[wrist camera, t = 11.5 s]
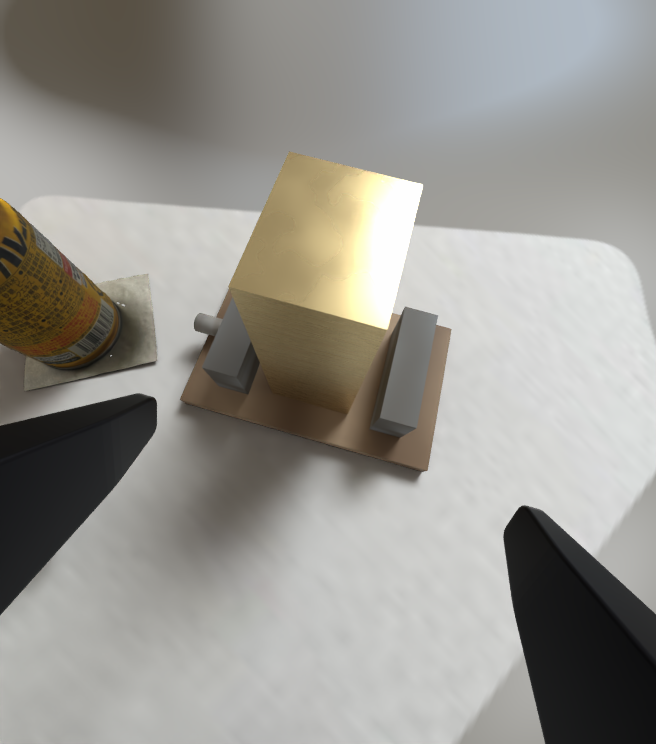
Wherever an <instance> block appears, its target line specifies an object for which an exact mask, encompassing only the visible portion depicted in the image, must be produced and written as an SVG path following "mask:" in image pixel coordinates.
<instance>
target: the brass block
mask: <svg viewBox="0 0 656 744" xmlns="http://www.w3.org/2000/svg"><path fill="white" fill-rule="evenodd" d="M422 187H423V185H422V184H418V183H414V182H409V181H406V180H402V179H398V178H394V177H389V176H386V175H382V174H377V173H373V172H369V171H365V170H361V169H357V168H353V167H349V166H345V165H341V164H337V163H333V162H329V161H325V160H321V159H317V158H313V157H309V156H304V155H301V154H297V153H293V152H289V153H288V155H287V158H286V160H285V162H284V164H283V166H282V169H281V171H280V173H279V176H278V178H277V180H276V182H275V184H274V187H273V189H272V191H271V193H270V195H269V198H268V200H267V202H266V204H265V207H264V209H263V211H262V213H261V215H260V217H259V220H258V222H257V224H256V226H255V229H254V231H253V233H252V235H251V237H250V240H249V242H248V244H247V246H246V249H245V251H244V253H243V255H242V257H241V260H240V262H239V264H238V266H237V269H236V271H235V273H234V275H233V277H232V280H231V282H230V284H229V286H228V287H229V289H230V292H231V294H232V297H233V299H234V301H235V304H236V306H237V309H238V311H239V313H240V316H241V318H242V321H243V323H244V325H245V328H246V330H247V333H248V335H249V338H250V340H251V342H252V345H253V347H254V350H255V352H256V354H257V357H258V359H259V362H260V364H261V367H262V369H263V371H264V374H265V376H266V379H267V381H268V383H269V386H270V388H271V391H272V393H273V394H277V395H280V396H284V397H287V398H291V399H294V400H298V401H301V402H305V403H308V404H312V405H315V406H319V407H322V408H326V409H329V410H333V411H336V412H340V413H343V414H347V415H348V413H349V411H350V408H351V406H352V404H353V402H354V400H355V398H356V396H357V393H358V391H359V389H360V387H361V385H362V383H363V381H364V379H365V376H366V374H367V372H368V370H369V368H370V366H371V364H372V361H373V359H374V357H375V355H376V353H377V351H378V349H379V347H380V344H381V342H382V340H383V338H384V336H385V334H386V332H387V329H388V325H389V321H390V317H391V313H392V309H393V305H394V301H395V297H396V293H397V289H398V285H399V280H400V276H401V272H402V268H403V264H404V260H405V256H406V252H407V248H408V244H409V240H410V236H411V232H412V228H413V224H414V220H415V216H416V211H417V207H418V203H419V199H420V195H421V191H422Z"/></svg>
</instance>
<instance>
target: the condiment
mask: <svg viewBox="0 0 656 744" xmlns="http://www.w3.org/2000/svg"><path fill="white" fill-rule="evenodd" d="M117 302H119V303H120V304H117ZM121 304H125V307H124V306H122V305H121ZM0 344H2V345H4V346H6V347H8V348H10V349H12V350H15V351H17V352H19V353H21V354H23V355H25V356H26V362H25V369H24V391H27V390H32V389H37V388H41V387H46V386H51V385H56V384H59V383H64V382H70V381H74V380H78V379H83V378H87V377H90V376H95V375H98V374H101V373H105V372H111V371H116V370H120V369H125V368H129V367H133V366H136V365H140V364H144V363H149V362H153V361H157V352H156V350H157V347H156V337H155V326H154V318H153V307H152V302H151V292H150V286H149V278H148V274H144V275H137V276H133V277H129V278H120V279H117V280H113V281H106V282H102V283H97V284H94V283H93V282H92V281H91V280H90V279H89V278H88V277H87V276H86V275H85V274H84V273H82V271H81V270H79V269H78V268H77V267H76V266H75V265H74V264H73V263H72V262H71V261H70V260H68V259H67V258H66V257H65V256H64V255H63V254H62V253H61V252H60V251H59V250H58V249H57V248H56V247H55V246H54V245H53V244H52V243H51V242H50V241H49V240H48V239H47V238H46V237H44V236H43V234H41V233H40V232H39V231H38V230H37V229H36V228H35V227H34V226H33V225H32V224H30V223H29V222H28V221H27V220H26V219H25V218H24V217H23V216H22V215H21V214H20V213H19V212H18V211H16V210H15V209H14V208H13V207H11V206H10V205H9V204H8V203H7V202H6V201H4V200H3V199H1V198H0ZM110 355H112V356H111V357H110Z"/></svg>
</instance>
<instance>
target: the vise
mask: <svg viewBox="0 0 656 744" xmlns="http://www.w3.org/2000/svg"><path fill="white" fill-rule="evenodd" d="M437 318H438V315H434V314H431V313H427V312H423V311H419V310H416V309H412V308H408V307H405V308H404V310H403V312H402V314H401V315H397V314H393V313H391V317H390V321H389V325H388V329H387V332H386V334H385V336H384V338H383V340H382V342H381V344H380V347H379V349H378V351H377V353H376V355H375V357H374V359H373V361H372V364H371V366H370V368H369V370H368V372H367V374H366V376H365V379H364V381H363V383H362V385H361V387H360V389H359V391H358V393H357V396H356V398H355V400H354V402H353V404H352V406H351V408H350V411H349V413H348V415H347V414H343V413H340V412H336V411H333V410H329V409H326V408H322V407H319V406H315V405H312V404H308V403H305V402H301V401H298V400H294V399H291V398H287V397H284V396H280V395H277V394H273V393H272V391H271V388H270V386H269V383H268V381H267V379H266V376H265V374H264V371H263V369H262V367H261V364H260V362H259V359H258V357H257V354H256V352H255V350H254V347H253V345H252V342H251V340H250V338H249V335H248V333H247V330H246V328H245V325H244V323H243V321H242V318H241V316H240V313H239V311H238V309H237V306H236V304H235V301H234V299H233V297H232V294H231V292H230V289H229V290H228V292H227V295H226V297H225V299H224V301H223V304H222V306H221V308H220V310H219V313H218V315H217V317H213V316H209V315H205V314H202V313H199V314H198V315H197V316H196V318H195V321H194V329H195V331H198V332H201V333H205V334H209V335H208V337H207V340H206V342H205V344H204V346H203V349H202V351H201V353H200V355H199V358H198V360H197V362H196V364H195V367H194V369H193V371H192V373H191V376H190V378H189V380H188V382H187V385H186V387H185V389H184V391H183V394H182V396H181V398H180V400H181V401H183V402H184V403H186V404H190V405H193V406H197V407H200V408H203V409H207V410H210V411H214V412H217V413H221V414H224V415H228V416H231V417H235V418H238V419H242V420H245V421H248V422H252V423H255V424H259V425H262V426H266V427H269V428H273V429H276V430H280V431H283V432H287V433H290V434H294V435H297V436H300V437H304V438H307V439H311V440H314V441H318V442H321V443H325V444H328V445H332V446H335V447H339V448H342V449H345V450H349V451H352V452H356V453H359V454H363V455H366V456H370V457H373V458H377V459H380V460H384V461H387V462H390V463H394V464H397V465H401V466H404V467H408V468H411V469H415V470H418V471H422V472H424V471H428V465H429V459H430V453H431V447H432V441H433V435H434V429H435V423H436V417H437V412H438V406H439V400H440V394H441V388H442V382H443V376H444V370H445V364H446V358H447V352H448V347H449V341H450V335H451V329H450V328H446V327H442V326H438V325H436V323H437Z"/></svg>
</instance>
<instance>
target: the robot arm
mask: <svg viewBox="0 0 656 744" xmlns="http://www.w3.org/2000/svg"><path fill="white" fill-rule="evenodd" d="M156 427H157V402H156V399H155V398H154V397H151V396H147V395H144V394H140V393H137V394H133V395H128V396H124V397H120V398H116V399H112V400H107V401H103V402H99V403H95V404H90V405H86V406H82V407H78V408H74V409H69V410H65V411H61V412H57V413H52V414H48V415H44V416H40V417H36V418H31V419H27V420H23V421H19V422H14V423H10V424H6V425H2V426H0V615H1V614H2V613H3V612H4V610H5V609H6V608H7V607H8V606H9V605H10V604H11V603H12V602H13V600H14V599H15V598H16V597H17V596H18V595H19V594H20V593H21V591H22V590H23V589H24V588H25V587H26V586H27V585H28V584H29V583H30V581H31V580H32V579H33V578H34V577H35V576H36V575H37V574H38V572H39V571H40V570H41V569H42V568H43V567H44V566H45V565H46V563H47V562H48V561H49V560H50V559H51V558H52V557H53V556H54V555H55V553H56V552H57V551H58V550H59V549H60V548H61V547H62V546H63V544H64V543H65V542H66V541H67V540H68V539H69V538H70V537H71V536H72V534H73V533H74V532H75V531H76V530H77V529H78V528H79V527H80V525H81V524H82V523H83V522H84V521H85V520H86V519H87V518H88V517H89V515H90V514H91V513H92V512H93V511H94V510H95V509H96V508H97V506H98V505H99V504H100V503H101V502H102V501H103V500H104V499H105V498H106V496H107V495H108V494H109V493H110V492H111V491H112V490H113V488H114V487H115V486H116V485H117V483H118V482H119V481H120V480H121V478H122V477H123V476H124V474H125V473H126V472H127V470H128V469H129V467H130V466H131V465H132V463H133V462H134V461H135V459H136V458H137V456H138V455H139V454H140V452H141V451H142V450H143V448H144V447H145V445H146V444H147V443H148V441H149V440H150V439H151V437H152V436H153V434H154V432H155V430H156ZM503 538H504V546H505V554H506V561H507V568H508V575H509V583H510V590H511V597H512V603H513V608H514V613H515V618H516V622H517V627H518V631H519V635H520V639H521V643H522V648H523V652H524V656H525V660H526V664H527V668H528V673H529V677H530V681H531V685H532V690H533V694H534V698H535V702H536V706H537V711H538V715H539V719H540V723H541V727H542V732H543V736H544V740H545V744H656V614H655V613H654V612H653V611H652V610H650V609H649V608H648V607H647V606H646V605H645V604H644V603H643V602H642V601H641V600H640V599H639V598H637V597H636V596H635V595H634V594H633V593H632V592H631V591H630V590H629V589H627V588H626V587H625V586H624V585H623V584H622V583H621V582H620V581H619V580H618V579H617V578H616V577H614V576H613V575H612V574H611V573H610V572H609V571H608V570H607V569H606V568H605V567H604V566H602V565H601V564H600V563H599V562H598V561H597V560H596V559H595V558H594V557H593V556H592V555H590V554H589V553H588V552H587V551H586V550H585V549H584V548H583V547H582V546H581V545H579V544H578V543H577V542H576V541H575V540H574V539H573V538H572V537H571V536H570V535H569V534H567V533H566V532H565V531H564V530H563V529H562V528H561V527H560V526H559V525H558V524H557V523H555V522H554V521H553V520H552V519H551V518H550V517H549V516H548V515H547V514H546V513H545V512H543V511H542V510H540V509H536V508H533V507H529V506H526V505H524V506H521V507H519V508H518V510H517V511H516V513H515V514H514V516H513V517H512V519H511V520H510V522H509V523H508V525H507V526H506V528H505V530H504V537H503Z"/></svg>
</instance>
